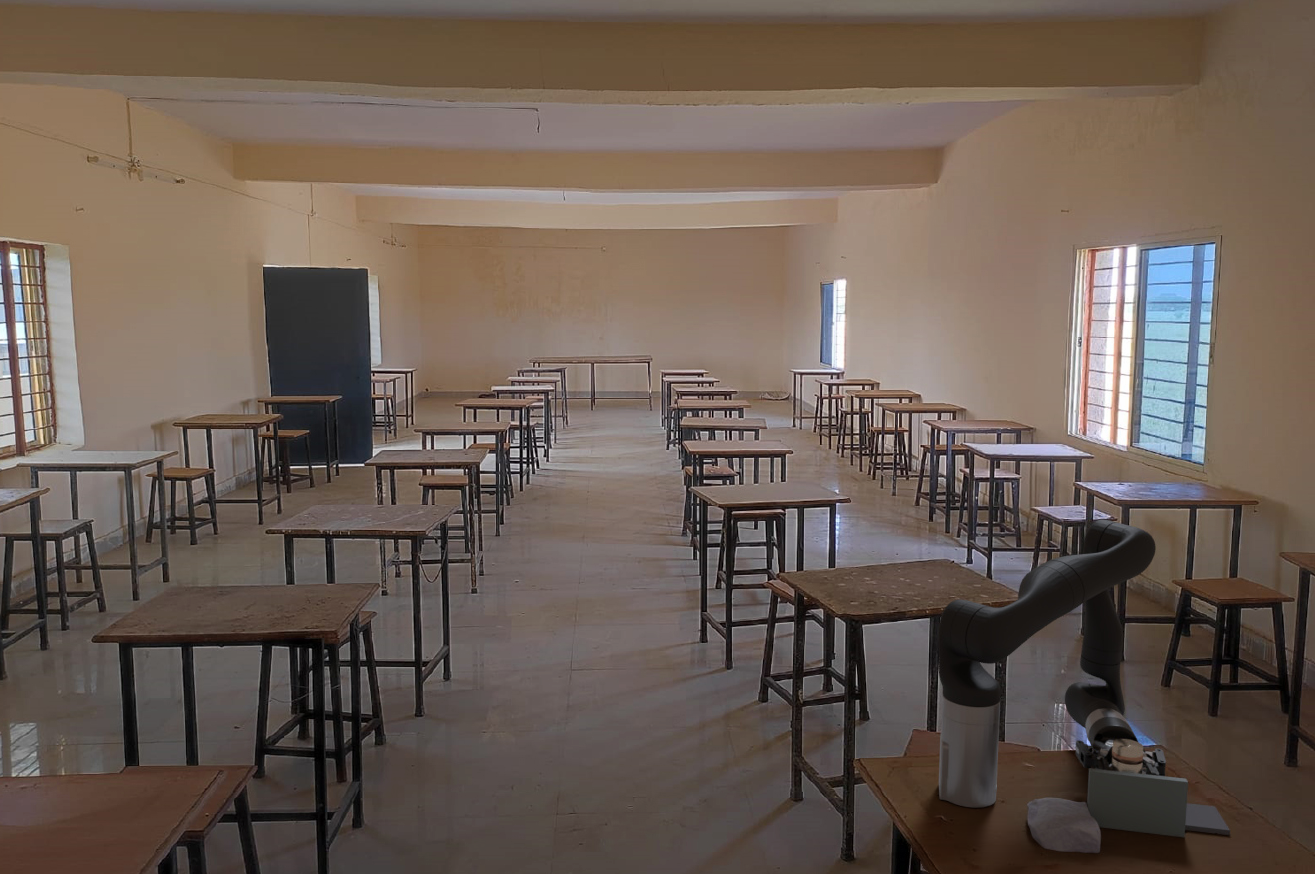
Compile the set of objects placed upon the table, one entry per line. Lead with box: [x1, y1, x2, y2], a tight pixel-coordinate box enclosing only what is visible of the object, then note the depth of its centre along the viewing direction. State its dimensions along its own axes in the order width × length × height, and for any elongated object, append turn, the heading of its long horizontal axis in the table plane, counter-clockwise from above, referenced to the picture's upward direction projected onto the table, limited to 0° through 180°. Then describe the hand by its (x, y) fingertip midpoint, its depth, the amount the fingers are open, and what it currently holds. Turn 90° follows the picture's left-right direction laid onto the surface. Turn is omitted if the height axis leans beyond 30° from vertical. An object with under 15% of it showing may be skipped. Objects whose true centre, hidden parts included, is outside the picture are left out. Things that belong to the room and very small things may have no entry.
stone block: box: [1026, 797, 1102, 854], centre depth 152 cm, size 12×5×10 cm
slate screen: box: [1086, 767, 1189, 838], centre depth 153 cm, size 14×1×9 cm, turn 75°
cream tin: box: [1111, 739, 1144, 774], centre depth 159 cm, size 5×5×11 cm
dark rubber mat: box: [1185, 802, 1231, 836], centre depth 156 cm, size 8×8×1 cm
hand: (1130, 777), depth 157 cm, fingers open, 6 cm apart
